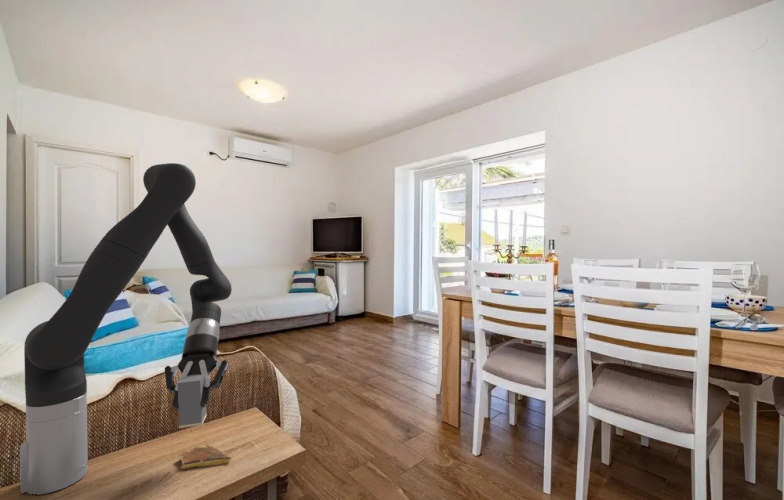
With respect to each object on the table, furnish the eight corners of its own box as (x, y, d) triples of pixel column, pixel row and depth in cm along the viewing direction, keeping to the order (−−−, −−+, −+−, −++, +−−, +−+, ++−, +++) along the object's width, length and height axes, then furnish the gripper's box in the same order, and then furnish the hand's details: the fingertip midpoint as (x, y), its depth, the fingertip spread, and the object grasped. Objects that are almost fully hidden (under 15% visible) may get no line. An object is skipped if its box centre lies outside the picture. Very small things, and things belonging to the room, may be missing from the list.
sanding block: (178, 428, 77) (177, 383, 77) (184, 418, 82) (183, 375, 82) (201, 424, 79) (200, 380, 79) (206, 415, 83) (205, 373, 83)
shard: (231, 464, 79) (231, 456, 79) (196, 482, 72) (196, 474, 72) (207, 449, 85) (206, 441, 85) (172, 465, 79) (172, 457, 79)
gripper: (166, 335, 85) (148, 405, 74) (230, 329, 89) (222, 396, 78) (174, 350, 91) (158, 419, 79) (234, 345, 94) (227, 409, 83)
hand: (190, 407), depth 78 cm, fingers closed on sanding block, 4 cm apart
